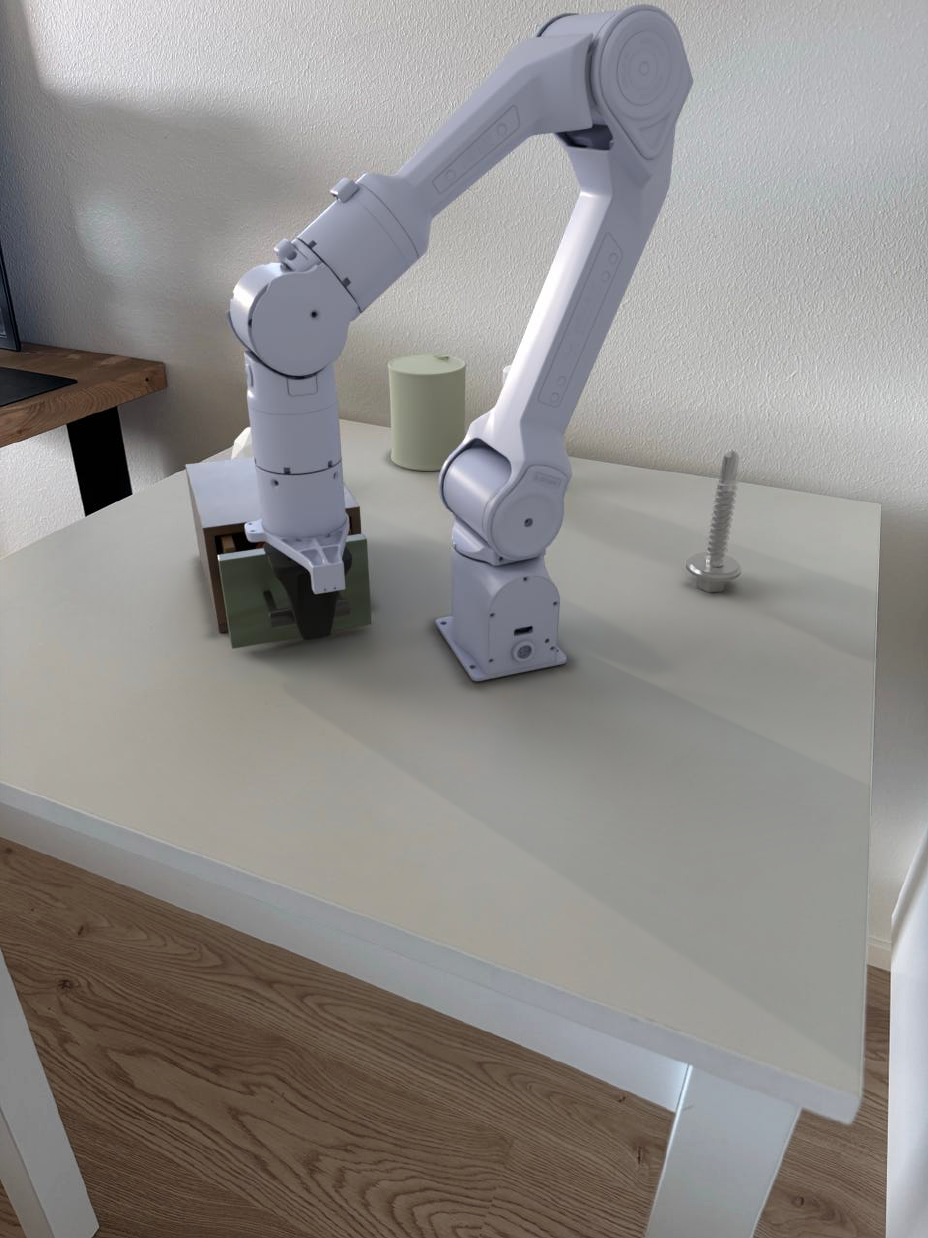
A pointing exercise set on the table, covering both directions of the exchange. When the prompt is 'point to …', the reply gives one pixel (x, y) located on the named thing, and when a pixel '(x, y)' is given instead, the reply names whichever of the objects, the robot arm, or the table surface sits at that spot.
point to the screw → (718, 534)
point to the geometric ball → (243, 445)
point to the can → (426, 409)
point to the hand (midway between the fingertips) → (315, 633)
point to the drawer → (281, 592)
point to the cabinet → (231, 514)
